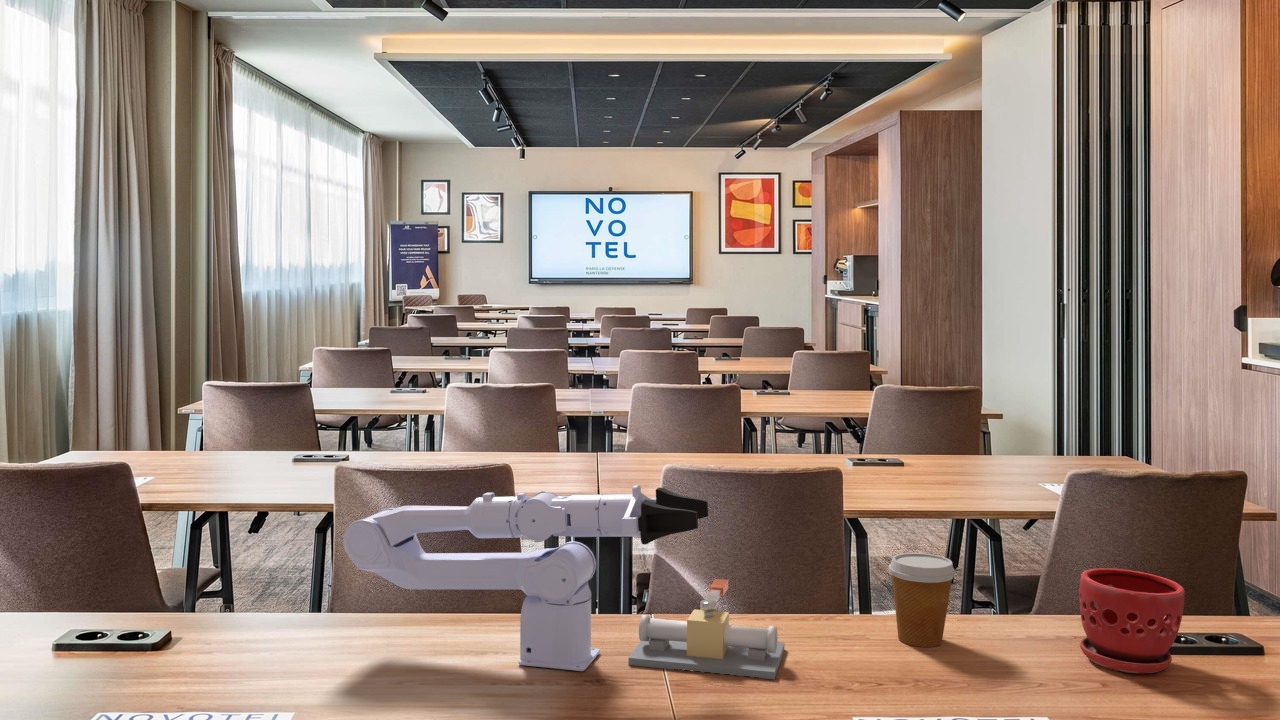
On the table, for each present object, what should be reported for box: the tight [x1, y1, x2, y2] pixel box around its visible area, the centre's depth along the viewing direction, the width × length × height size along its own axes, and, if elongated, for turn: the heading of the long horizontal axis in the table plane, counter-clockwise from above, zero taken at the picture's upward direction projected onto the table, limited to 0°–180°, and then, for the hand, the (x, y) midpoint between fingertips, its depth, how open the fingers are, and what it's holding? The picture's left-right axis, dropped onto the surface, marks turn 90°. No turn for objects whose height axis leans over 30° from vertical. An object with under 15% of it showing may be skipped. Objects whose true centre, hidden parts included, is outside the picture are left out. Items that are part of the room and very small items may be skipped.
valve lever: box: [699, 578, 729, 612], centre depth 148 cm, size 12×2×1 cm, turn 166°
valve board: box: [628, 609, 785, 681], centre depth 144 cm, size 20×12×7 cm, turn 76°
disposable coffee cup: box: [888, 552, 956, 648], centre depth 152 cm, size 10×10×12 cm
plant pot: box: [1078, 567, 1186, 674], centre depth 143 cm, size 13×13×12 cm
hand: (702, 514), depth 137 cm, fingers open, 7 cm apart
